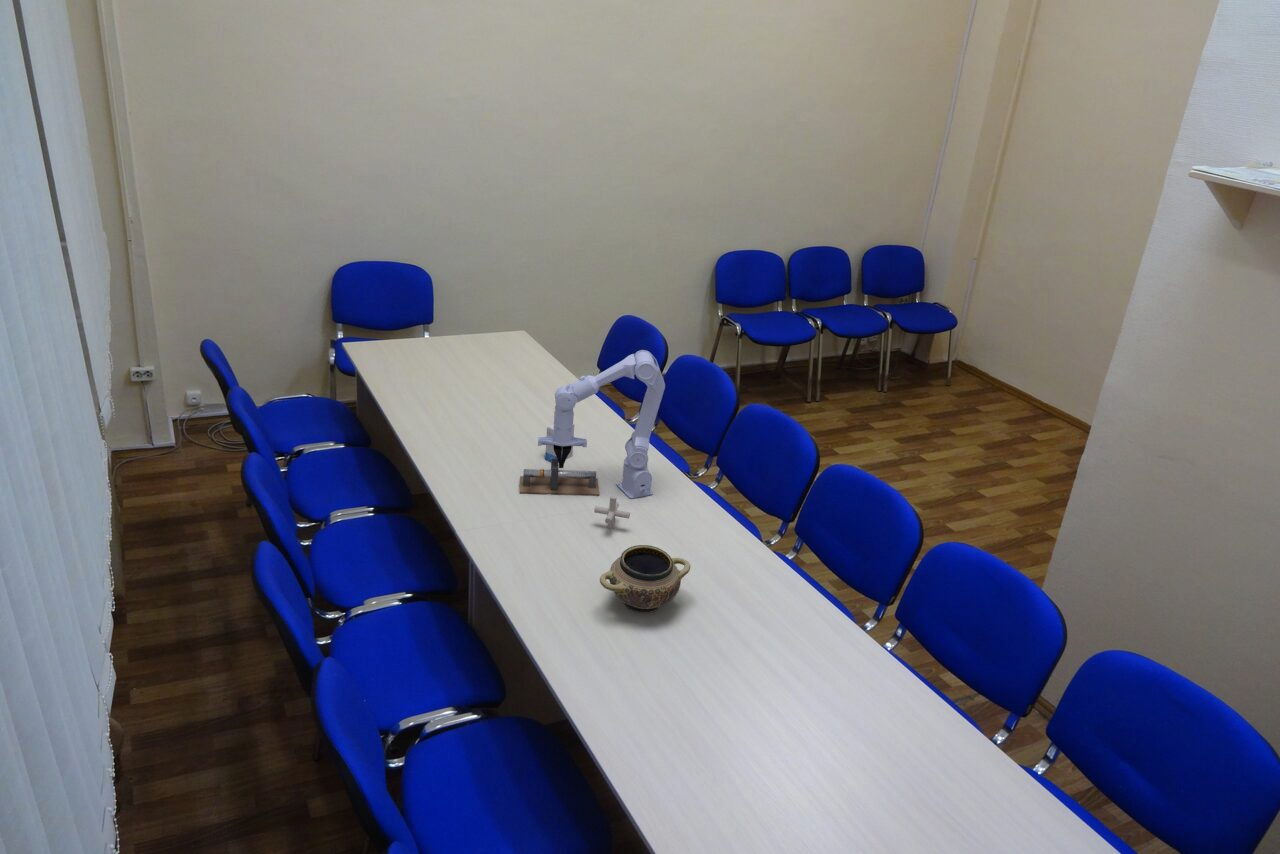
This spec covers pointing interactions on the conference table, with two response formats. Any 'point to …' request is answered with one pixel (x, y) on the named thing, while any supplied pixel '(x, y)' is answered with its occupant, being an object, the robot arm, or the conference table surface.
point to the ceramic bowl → (645, 578)
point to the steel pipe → (559, 475)
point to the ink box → (550, 448)
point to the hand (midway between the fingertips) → (561, 466)
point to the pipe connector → (611, 512)
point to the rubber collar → (554, 474)
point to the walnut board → (559, 487)
